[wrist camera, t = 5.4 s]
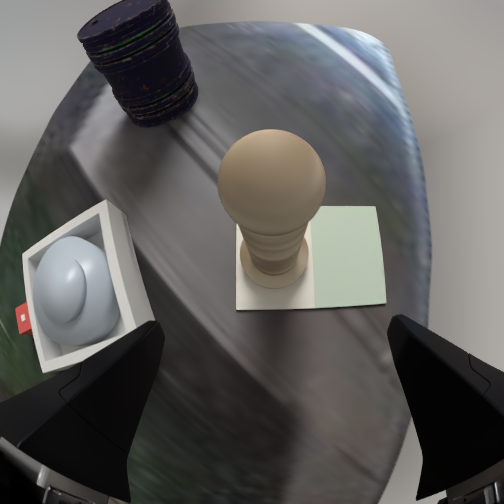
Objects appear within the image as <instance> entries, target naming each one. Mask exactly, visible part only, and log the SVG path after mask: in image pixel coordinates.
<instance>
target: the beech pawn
mask: <svg viewBox="0 0 504 504" xmlns="http://www.w3.org/2000/svg"><path fill="white" fill-rule="evenodd" d="M325 189H326V178H325V172H324V168H323V165H322V163H321V160H320V158H319V156H318V155H317V153H316V152H315V151H314V149H313V148H312V147H311V146H310V145H309V144H308V143H307V142H306V141H304V140H303V139H301V138H300V137H298V136H296V135H294V134H292V133H289V132H286V131H282V130H272V129H269V130H261V131H256V132H253V133H251V134H248V135H246V136H244V137H243V138H241V139H240V140H238V141H237V142H236V143H235V144H234V145H233V146H232V147H231V148H230V149H229V150H228V152H227V153H226V155H225V156H224V158H223V160H222V162H221V165H220V169H219V172H218V192H219V196H220V199H221V203H222V205H223V207H224V209H225V210H226V212H227V213H228V215H229V216H230V217H231V218H232V219H233V220H234V221H235V222H236V223H237V224H238V226H239V228H240V231H241V234H242V236H243V240H242V243H241V247H240V261H241V264H242V267H243V269H244V271H245V272H246V274H247V275H248V277H249V278H250V279H251V280H252V281H253V282H255V283H256V284H258V285H260V286H262V287H265V288H269V289H280V288H284V287H287V286H289V285H291V284H292V283H294V282H295V281H296V280H297V279H299V277H300V276H301V275H302V273H303V272H304V270H305V268H306V265H307V262H308V257H309V250H308V245H307V242H306V239H305V238H304V235H305V232H306V229H307V226H308V223H309V221H310V220H311V219H312V218H313V217H314V216H315V215H316V213H317V212H318V210H319V208H320V206H321V204H322V202H323V199H324V195H325Z"/></svg>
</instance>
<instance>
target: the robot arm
mask: <svg viewBox="0 0 504 504" xmlns="http://www.w3.org/2000/svg"><path fill="white" fill-rule="evenodd" d="M387 336H388V340H389V344H390V348H391V352H392V357H393V361H394V364H395V368H396V370H397V373H398V376H399V379H400V382H401V385H402V387H403V390H404V393H405V396H406V399H407V402H408V406H409V409H410V412H411V415H412V418H413V422H414V425H415V428H416V432H417V436H418V439H419V443H420V446H421V450H422V455H423V464H422V471H421V476H420V482H419V486H418V491H417V496H416V501H418V500H421V499H423V498H426V497H429V496H432V495H434V494H437V493H439V492H442V491H444V490H446V494H447V497H446V498H443V499H441V500H439V502H438V504H504V372H502V371H501V370H499V369H497V368H495V367H493V366H491V365H489V364H487V363H485V362H483V361H482V360H480V359H478V358H476V357H475V356H473V355H471V354H470V353H469V354H468V353H467V352H466V351H464V350H462V349H461V348H459V347H457V346H456V345H454V344H452V343H451V342H449V341H447V340H446V339H444V338H442V337H441V336H439V335H437V334H435V333H434V332H432V331H430V330H429V329H427V328H425V327H423V326H422V325H420V324H418V323H417V322H415V321H413V320H411V319H410V318H408V317H406V316H404V315H402V314H400V315H394V316H393V317H392V319H391V322H390V324H389V327H388V330H387ZM164 342H165V335H164V332H163V330H162V327H161V325H160V323H159V321H154V320H149V321H147V322H145V323H144V324H142V325H141V326H139V327H137V328H136V329H134V330H132V331H131V332H129V333H127V334H126V335H124V336H122V337H121V338H119V339H117V340H116V341H114V342H113V343H111V344H109V345H108V346H106V347H104V348H103V349H101V350H99V351H98V352H96V353H94V354H93V355H91V356H89V357H88V358H86V359H84V360H83V361H82V362H79V363H77V364H76V365H74V366H72V367H71V368H69V369H67V370H65V371H63V372H62V373H60V374H58V375H56V376H54V377H52V378H50V379H48V380H46V381H44V382H42V383H40V384H37V385H35V386H33V387H31V388H29V389H27V390H25V391H23V392H21V393H19V394H17V395H15V396H13V397H10V398H8V399H6V400H4V401H2V402H0V436H2V437H1V440H0V504H108V500H109V496H110V497H113V498H116V499H119V500H122V501H125V502H128V503H130V502H131V498H130V491H129V484H128V475H127V457H128V454H129V451H130V448H131V445H132V442H133V439H134V436H135V433H136V430H137V427H138V424H139V421H140V418H141V415H142V412H143V409H144V406H145V404H146V401H147V398H148V395H149V392H150V390H151V387H152V384H153V381H154V379H155V376H156V373H157V370H158V367H159V363H160V359H161V354H162V350H163V346H164Z"/></svg>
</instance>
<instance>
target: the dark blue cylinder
mask: <svg viewBox="0 0 504 504" xmlns="http://www.w3.org/2000/svg"><path fill="white" fill-rule="evenodd" d="M178 35H179V26H178V24H177V23H176V18H175V15H174V12H173V10H172V9H171V6H170V3H169V2H168V1H167V0H122V1H120V2H118V3H116V4H114V5H112V6H110V7H109V8H107V9H105V10H103V11H102V12H100V13H99V14H97V15H96V16H95V17H93V18H92V19H91V20H90V21H88V22H87V23H86V24H85V25H84V26H83V27H82V28H81V29H80V31H79V32H78V34H77V38H78V39H79V41H80V42H81V43H83V47H84V49H85V50H86V54H87V55H88V57H89V58H90V60H91V61H92V62H93V63H94V66H95V68H96V69H97V70H98V71H99V72H100V73H103V74H104V76H105V78H106V79H107V81H108V82H109V84H110V85H111V87H112V92H113V94H114V97H115V98H116V100H118V103H119V104H120V106H121V107H122V109H123V110H124V111H125V112H126V113H127V114H128V115H129V118H130V119H131V121H132V122H133V123H134V124H135V125H137V126H140V127H156V126H160V125H164V124H166V123H169V122H171V121H173V120H175V119H177V118H178V117H180V116H181V115H183V114H184V113H185V112H186V111H187V110H188V109H189V108H190V107H191V106H192V105H193V104H194V102H195V101H196V99H197V96H198V87H197V84H196V82H195V78H194V72H193V69H192V66H191V61H190V59H189V58H188V56H187V54H186V53H184V52H183V49H182V46H181V43H180V40H179V37H178Z"/></svg>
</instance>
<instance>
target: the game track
mask: <svg viewBox="0 0 504 504" xmlns="http://www.w3.org/2000/svg"><path fill="white" fill-rule="evenodd" d="M304 238H305V239H306V242H307V245H308V250H309V257H308V262H307V265H306V268H305V270H304V272H303V273H302V275H301V276H300V277H299V279H297V280H296V281H295V282H294V283H292V284H291V285H289V286H287V287H284V288H280V289H269V288H265V287H262V286H260V285H258V284H256V283H255V282H253V281H252V280H251V279H250V278H249V277H248V275H247V274H246V272H245V271H244V269H243V267H242V264H241V261H240V247H241V243H242V240H243V236H242V234H241V231H240V228H239V226H238V224H237V240H236V310H273V309H305V308H327V307H344V306H359V305H372V304H384V303H386V290H385V277H384V266H383V257H382V248H381V240H380V233H379V226H378V220H377V214H376V208H375V206H320V208H319V210H318V212H317V213H316V215H315V216H314V217H313V218H312V219H311V220H310V221H309V223H308V226H307V229H306V232H305V235H304Z"/></svg>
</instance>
